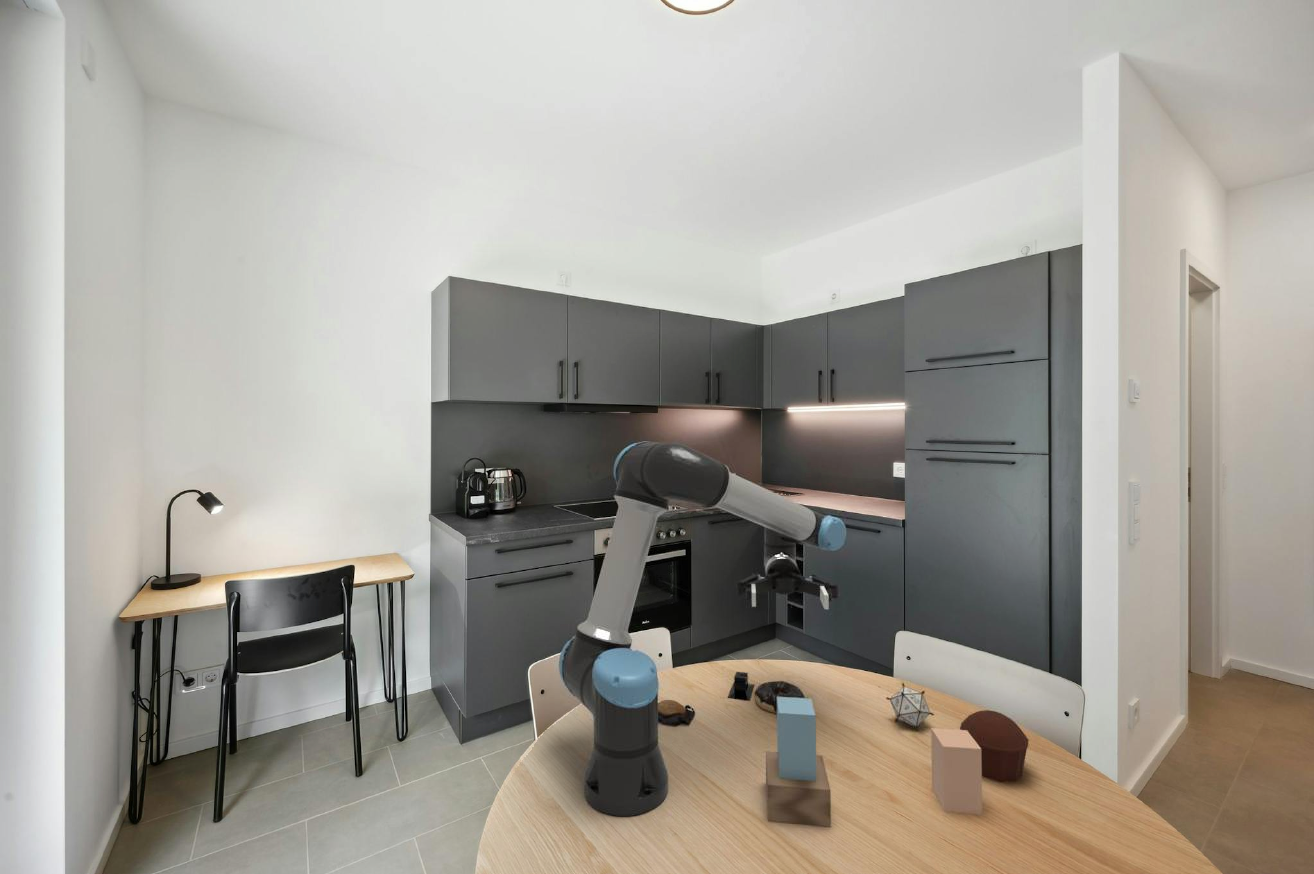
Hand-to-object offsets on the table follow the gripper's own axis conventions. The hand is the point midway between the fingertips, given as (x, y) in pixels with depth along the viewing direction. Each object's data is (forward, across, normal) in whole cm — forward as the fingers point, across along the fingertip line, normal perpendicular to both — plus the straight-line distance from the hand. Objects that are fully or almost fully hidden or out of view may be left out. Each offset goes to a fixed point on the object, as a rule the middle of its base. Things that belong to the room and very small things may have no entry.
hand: (789, 601), depth 108 cm
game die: (-20, +27, +32) cm, 47 cm away
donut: (-26, 0, +32) cm, 41 cm away
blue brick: (+11, 0, +26) cm, 28 cm away
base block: (+11, 0, +32) cm, 34 cm away
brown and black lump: (-17, -26, +33) cm, 45 cm away
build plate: (-32, -10, +33) cm, 47 cm away
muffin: (-5, +38, +32) cm, 50 cm away
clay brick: (+6, +27, +32) cm, 43 cm away
